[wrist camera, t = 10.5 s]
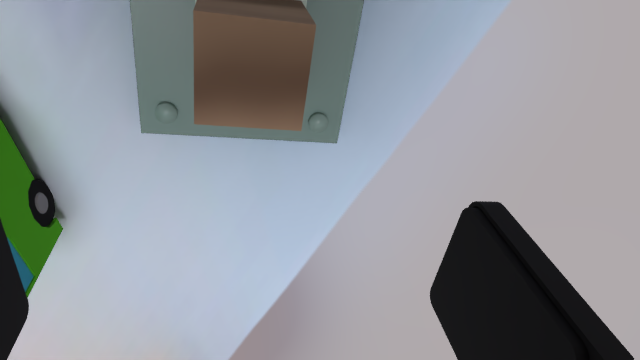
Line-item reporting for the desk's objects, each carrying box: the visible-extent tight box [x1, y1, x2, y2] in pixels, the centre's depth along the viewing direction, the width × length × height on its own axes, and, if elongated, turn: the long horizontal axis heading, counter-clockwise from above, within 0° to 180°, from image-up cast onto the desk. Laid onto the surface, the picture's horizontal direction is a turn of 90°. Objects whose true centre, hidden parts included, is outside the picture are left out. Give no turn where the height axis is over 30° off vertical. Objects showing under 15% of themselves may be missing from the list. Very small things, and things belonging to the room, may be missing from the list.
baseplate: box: [130, 0, 364, 143], centre depth 24 cm, size 12×12×2 cm
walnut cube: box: [193, 0, 316, 131], centre depth 21 cm, size 5×5×5 cm
